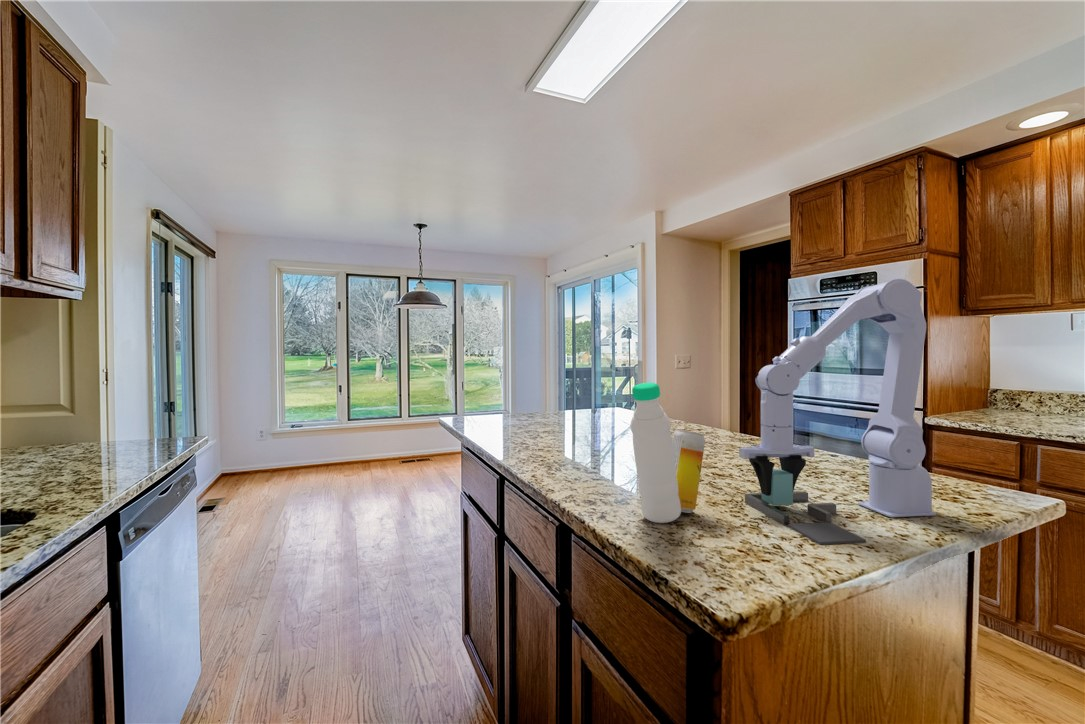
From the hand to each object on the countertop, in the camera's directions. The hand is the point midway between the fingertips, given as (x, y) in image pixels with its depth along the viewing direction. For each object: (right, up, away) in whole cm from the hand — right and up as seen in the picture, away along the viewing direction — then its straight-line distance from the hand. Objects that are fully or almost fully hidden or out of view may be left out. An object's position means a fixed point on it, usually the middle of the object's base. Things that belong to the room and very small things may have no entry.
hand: (776, 493), depth 91 cm
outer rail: (+3, -3, -2) cm, 4 cm away
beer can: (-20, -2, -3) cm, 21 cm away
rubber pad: (+1, -3, -13) cm, 14 cm away
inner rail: (+7, -3, -6) cm, 9 cm away
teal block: (0, -2, 0) cm, 2 cm away
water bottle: (-24, -2, -6) cm, 25 cm away
